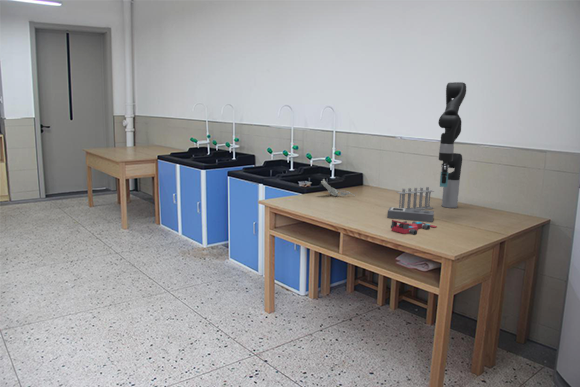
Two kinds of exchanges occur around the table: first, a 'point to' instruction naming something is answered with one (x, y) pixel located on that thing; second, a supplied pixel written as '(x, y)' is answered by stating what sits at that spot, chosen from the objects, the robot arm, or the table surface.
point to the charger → (441, 180)
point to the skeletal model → (334, 190)
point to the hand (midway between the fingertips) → (443, 182)
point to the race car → (409, 227)
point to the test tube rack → (415, 198)
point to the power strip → (410, 214)
